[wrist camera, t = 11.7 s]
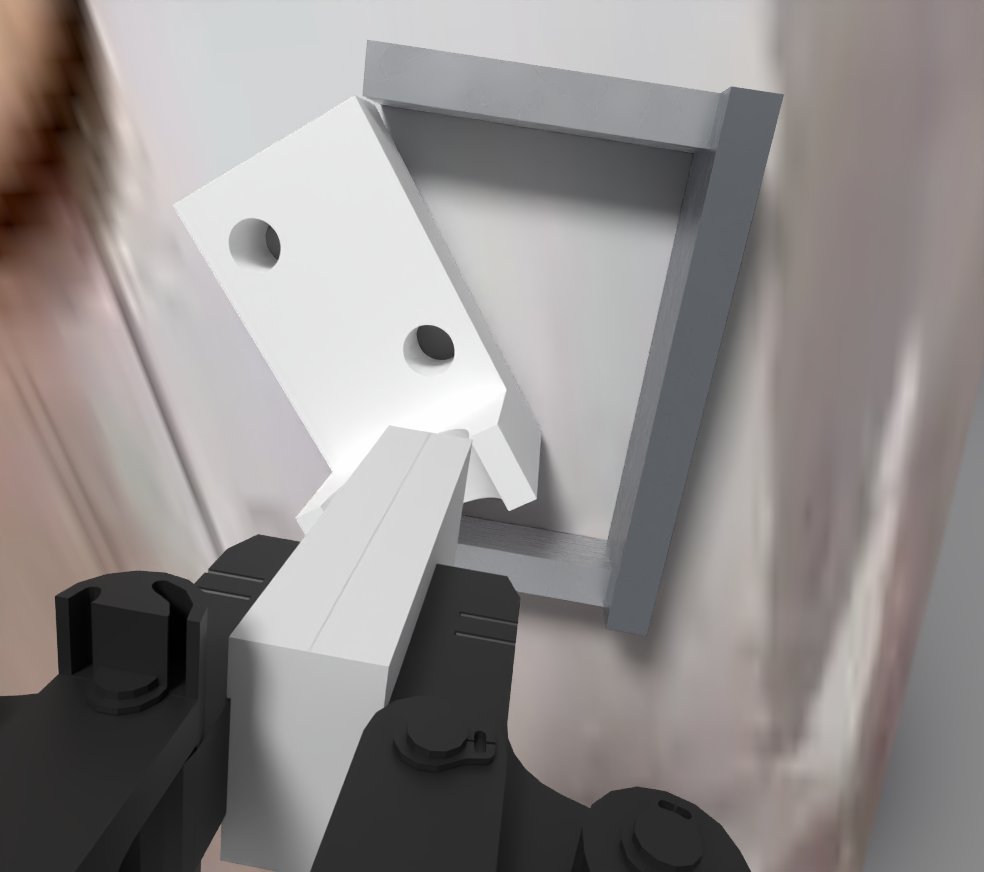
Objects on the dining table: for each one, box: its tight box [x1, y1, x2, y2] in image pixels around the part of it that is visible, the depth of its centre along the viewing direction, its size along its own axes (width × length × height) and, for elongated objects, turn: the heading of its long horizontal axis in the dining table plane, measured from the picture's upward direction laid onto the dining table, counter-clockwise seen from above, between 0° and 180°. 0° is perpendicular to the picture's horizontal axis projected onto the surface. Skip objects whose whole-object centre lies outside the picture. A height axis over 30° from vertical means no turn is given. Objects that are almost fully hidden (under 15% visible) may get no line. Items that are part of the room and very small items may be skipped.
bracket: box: [173, 95, 541, 535], centre depth 25 cm, size 13×7×8 cm, turn 27°
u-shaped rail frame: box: [363, 40, 784, 636], centre depth 26 cm, size 12×18×4 cm
